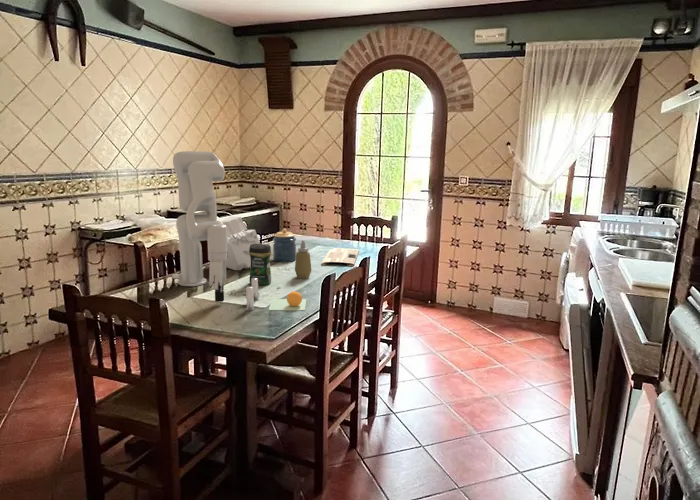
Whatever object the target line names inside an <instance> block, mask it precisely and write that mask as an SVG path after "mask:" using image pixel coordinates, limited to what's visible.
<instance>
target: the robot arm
mask: <svg viewBox="0 0 700 500" xmlns="http://www.w3.org/2000/svg"><path fill="white" fill-rule="evenodd" d="M172 164H173V169H174V173H175V175H176V177H177V183H178V184H177V185H178V187H177V188H178V204H179V209H180V210H182V211H183V212H186V214H182V215H179V216H178V217H177V219H176V222H175V223H176V225H175V226H176V230H177V235H178V242H179V243H178V244H179V256H180V257H179V260H180V261H179V262H180V273H178V274H177V273H173V274H171V278H172V279H173V280H177V284H178V285H179V286H182V287H198V286H202V285H205V284H206V283H207V282H208V281H209V286H210V287H212V286H213V285H214V301H215V302H224V301H225V291H224V290H225V289H224V286H225V285H224V284H225V282H226V281H227V268H226V260H228V241H227V227H226V225H224V224H223V223H222V222H220V221H221V220H218V218H217V217H218V216H217V213H218V212H217V211H218V209H217V199H216V193H215V189H214V183H213V182H221V181H224V179H225V178H226V171H225V167H224V164H223V162H222V161H221V160H220V158H219V157H218V156H217V155H216V153H215V152H213V151H194V150H193V151H192V150H190V151H189V150H186V151H184V150H183V151H177V152H176V153H175V154H174V155H173V156H172ZM195 212H204V213H195ZM204 241H207V260H208V261H209V280H207V278H205V277H204V270H203V267H204V266H203V251H202V250H203V247H202V243H201V242H204Z"/></svg>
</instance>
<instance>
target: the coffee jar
mask: <svg viewBox="0 0 700 500" xmlns="http://www.w3.org/2000/svg"><path fill="white" fill-rule="evenodd" d="M271 249H272V248H271V245H270V244H267V243H266V244H264V243H260V244H252V245H250V249H249V255H250V258H251V266H250V268H249V269H250V271H249V283H250V284H251V279H252V278H258V286H266V285H270V284H271V283H272V274H271V273H272V271H271V256H272V250H271Z"/></svg>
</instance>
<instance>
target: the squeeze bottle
mask: <svg viewBox="0 0 700 500" xmlns="http://www.w3.org/2000/svg"><path fill="white" fill-rule="evenodd" d="M294 271H295V274H296V277H297V279H308V278H309V277H310V276H311V272H312V262H311V253H310V252H309V248H308V247H306V241H305V240H301V243H300V247H298V252H296V260H295V264H294Z"/></svg>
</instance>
